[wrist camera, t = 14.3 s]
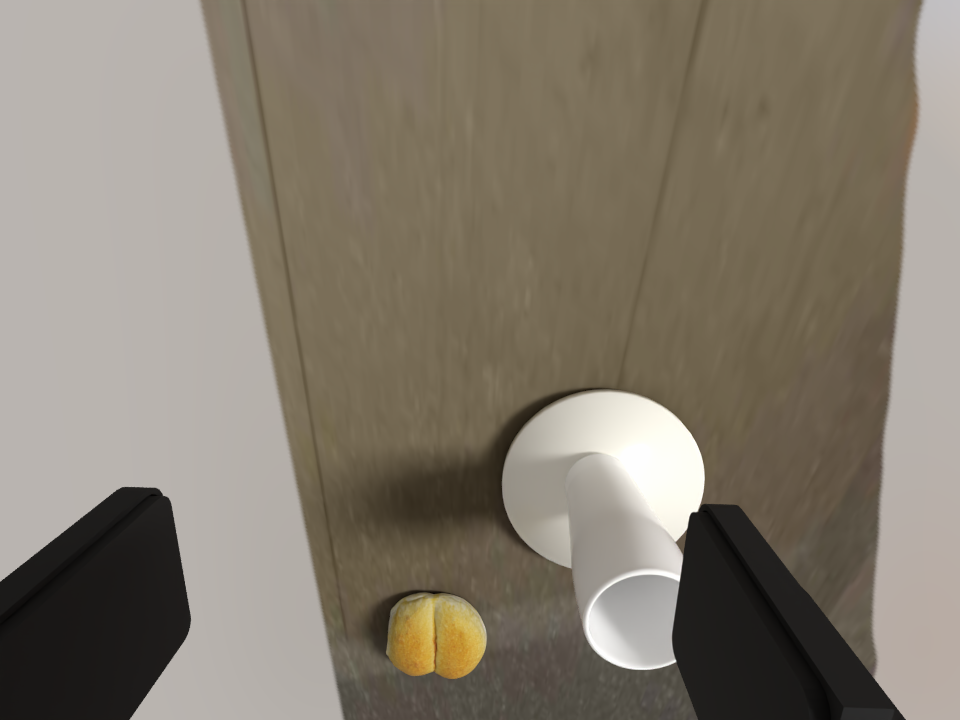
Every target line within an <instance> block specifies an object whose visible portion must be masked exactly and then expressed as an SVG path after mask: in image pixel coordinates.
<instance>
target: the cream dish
mask: <svg viewBox="0 0 960 720" xmlns="http://www.w3.org/2000/svg"><path fill="white" fill-rule="evenodd" d="M592 454H607V455H611V456H614V457H616V458H618V459H619V460H621V461H622V462H623V463H624V464H625V465H626V466H627V467H628V469H629V470H630V472H631V474H632V476H633V478H634V480H635V482H636V484H637V485H638V487H639V488H640V490H641V491H642V493H643V494H644V496H645V497H646V499H647V500H648V502H649V503H650V505H651V506H652V508H653V509H654V511H655V512H656V514H657V515H658V517H659V518H660V520H661V521H662V523H663V524H664V526H665V527H666V529H667V530H668V532H669V533H670V535H671V536H672V538H673V539H674V541H675V542H676V541H677V540H678V539H679V538H680V537H681V535H682V534H683V533H684V532H685V531H686V529H687V528H688V521H689V516H690V514H691V513H692V512H697V511H698V508H699V506H700V503H701V499H702V495H703V491H704V479H705V478H704V466H703V462H702V457H701V454H700V451H699V449H698V446H697V444H696V442H695V440H694V439H693V437H692V435H691V433H690V432H689V431H688V430H687V428H686V427H685V426H684V425H683V423H682V422H681V421H680V420H679V419H678V418H677V417H676V416H675V415H674V414H673V413H672V412H671V411H670V410H668V409H667V408H665V407H664V406H662V405H661V404H660V403H658V402H656V401H654V400H652V399H650V398H648V397H645V396H642V395H639V394H636V393H633V392H628V391H623V390H613V389H598V390H589V391H583V392H579V393H575V394H572V395H568V396H566V397H564V398H561V399H559V400H557V401H555V402H553V403H551V404H549V405H548V406H546V407H544V408H543V409H542V410H540V411H539V412H538V413H536V414H535V415H534V416H533V417H532V418H531V419H530V420H529V421H528V422H527V423H525V425H524V426H523V427H522V428H521V430H520V431H519V432H518V433H517V435H516V437H515V438H514V440H513V442H512V443H511V445H510V448H509V450H508V453H507V455H506V458H505V462H504V466H503V474H502V493H503V500H504V506H505V509H506V512H507V515H508V518H509V520H510V521H511V523H512V525H513V527H514V529H515V530H516V532H517V533H518V534H519V536H520V537H521V538H522V539H523V540H524V541H525V542H526V543H527V545H528V546H530V547H531V548H532V549H533V550H535V551H536V552H537V553H538V554H540V555H542V556H543V557H545V558H547V559H548V560H550V561H553V562H555V563H557V564H559V565H562V566H566V567H569V568H572V567H571V553H570V537H569V522H568V508H567V499H566V495H565V489H564V484H565V478H566V475H567V473H568V471H569V469H570V468H571V466H572V465H573V464H574V463H575V462H577V461H578V460H579V459H581V458H583V457H585V456H588V455H592Z"/></svg>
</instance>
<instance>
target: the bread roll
mask: <svg viewBox="0 0 960 720" xmlns="http://www.w3.org/2000/svg"><path fill="white" fill-rule="evenodd" d="M388 627H389V629H388V643H387V650H386V654H387V655H388V656H389V658H390V660H391V662H392V663H393V665H394V666H396V667H397V668H398V669H399V670H401V671H403V672H404V673H406V674H408V675H412V676H418V675H424V674H427V673H430V672H433V671H435V672H436V673H437V674H439V675H440V676H442V677H445V678H449V679H456V678H460V677H463V676H465V675H467V674H468V673H470V672H471V671H472V670H473V669H474V668H475V667H476V665H477V664H478V663H479V661H480V660H481V658H482V656H483V654H484V651H485V648H486V629H485V626H484V623H483V621H482V619H481V617H480V615H479V614H478V612H477V611H476V610H475V609H474V608H473V607H472V606H471V605H470V604H469V603H468V602H467V601H465V600H464V599H463V598H460V597H458V596H455V595H452V594H446V593H439V594H431V593H426V592H423V593H417V594H412V595H409V596H407V597H404V598H402V599H401V600H400V601H398V602H397V603H396V605H395V606H394V607H393V608H392V609H391V612H390V620H389V626H388Z"/></svg>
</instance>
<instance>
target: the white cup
mask: <svg viewBox="0 0 960 720" xmlns="http://www.w3.org/2000/svg"><path fill="white" fill-rule="evenodd" d="M564 489H565V495H566V499H567V508H568V522H569V537H570V553H571V567H572V577H573V585H574V591H575V596H576V601H577V606H578V610H579V614H580V618H581V622H582V625H583V629H584V633H585V636H586V639H587V641H588V642H589V644H590V646H591V647H592V648H593V649H594V651H595V652H596V653H597V654H598V655H600V656H601V657H602V658H604V659H605V660H607V661H608V662H610V663H612V664H615V665H617V666H620V667H623V668H628V669H635V670H649V669H656V668H661V667H664V666H667V665H670V664H672V663H675V662H676V660H675V656H674V653H673V647H672V630H673V623H674V616H675V610H676V603H677V596H678V589H679V582H680V575H681V569H682V562H683V554H682V553H681V551H680V549H679V547H678V546H677V544H676V542H675V541H674V539H673V538H672V536H671V535H670V533H669V532H668V530H667V529H666V527H665V526H664V524H663V523H662V521H661V520H660V518H659V517H658V515H657V514H656V512H655V511H654V509H653V508H652V506H651V505H650V503H649V502H648V500H647V499H646V497H645V496H644V494H643V493H642V491H641V490H640V488H639V487H638V485H637V484H636V482H635V480H634V478H633V476H632V474H631V472H630V470H629V469H628V467H627V466H626V465H625V464H624V463H623V462H622V461H621V460H619V459H618V458H616V457H614V456H611V455H607V454H592V455H588V456H585V457H583V458H581V459H579V460H578V461H577V462H575V463H574V464H573V465H572V466H571V468H570V469H569V471H568V473H567V475H566V478H565V484H564Z"/></svg>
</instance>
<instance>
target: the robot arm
mask: <svg viewBox="0 0 960 720" xmlns="http://www.w3.org/2000/svg"><path fill="white" fill-rule="evenodd" d="M190 622H191V616H190V610H189V605H188V599H187V592H186V586H185V581H184V575H183V569H182V563H181V557H180V552H179V546H178V540H177V534H176V529H175V523H174V517H173V511H172V506H171V502H170V500H169V498H168V497H165V496H163V494H162V493H161V491H160V490H159V489H157V488H143V487H122V488H120V489H118V490H116V491H115V492H114V493H113V494H111V495H110V496H109V497H108V498H106V499H105V500H104V501H102V502H101V503H100V504H99V505H97V506H96V507H95V508H94V509H92V510H91V511H90V512H88V513H87V514H86V515H85V516H83V517H82V518H81V519H80V520H78V521H77V522H76V523H74V525H72V526H71V527H69V528H68V529H67V530H66V531H64V532H63V533H62V534H61V535H59V536H58V537H57V538H55V539H54V540H53V541H52V542H50V543H49V544H48V545H46V546H45V547H44V548H43V549H41V550H40V551H39V552H38V553H36V554H35V555H34V556H33V557H31V558H30V559H29V560H27V561H26V562H25V563H24V564H22V565H21V566H20V567H19V568H17V569H16V570H15V571H13V572H12V573H11V574H10V575H8V576H7V577H6V578H5V579H3V580H2V581H1V582H0V720H129V719H130V718H131V717H132V715H133V714H134V712H135V711H136V709H137V708H138V706H139V705H140V704H141V702H142V701H143V699H144V698H145V697H146V695H147V694H148V692H149V691H150V689H151V688H152V686H153V685H154V684H155V682H156V681H157V679H158V678H159V676H160V675H161V674H162V672H163V671H164V669H165V668H166V666H167V665H168V664H169V662H170V661H171V659H172V658H173V656H174V655H175V653H176V652H177V651H178V649H179V648H180V646H181V645H182V643H183V642H184V640H185V639H186V637H187V635H188V632H189V628H190ZM672 647H673V653H674V656H675V660H676V662H677V665H678V667H679V670H680V673H681V675H682V678H683V681H684V683H685V686H686V689H687V691H688V694H689V696H690V699H691V702H692V704H693V707H694V710H695V712H696V715H697V717H698V720H906V719H905V718H904V717H903V716H902V714H901V713H900V712H899V710H898V709H897V708H896V707H895V705H894V704H893V703H892V701H891V700H890V699H889V698H888V696H887V695H886V694H885V692H884V691H883V690H882V688H881V687H880V686H879V684H878V683H877V682H876V681H875V679H874V678H873V677H872V675H871V674H870V673H869V672H868V670H867V669H866V668H865V666H864V665H863V664H862V662H861V661H860V660H859V659H858V657H857V656H856V655H855V653H854V652H853V651H852V650H851V648H850V647H849V646H848V644H847V643H846V642H845V640H844V639H843V638H842V637H841V635H840V634H839V633H838V631H837V630H836V629H835V628H834V626H833V625H832V624H831V622H830V621H829V620H828V618H827V617H826V616H825V615H824V613H823V612H822V611H821V609H820V608H819V607H818V605H817V604H816V603H815V602H814V600H813V599H812V598H811V596H810V595H809V594H808V593H807V592H806V591H805V590H804V589H803V588H802V587H801V586H800V585H799V583H798V582H797V581H796V580H795V578H794V577H793V576H792V574H791V573H790V572H789V570H788V569H787V568H786V566H785V565H784V564H783V563H782V561H781V560H780V559H779V557H778V556H777V555H776V553H775V552H774V551H773V550H772V548H771V547H770V546H769V544H768V543H767V542H766V540H765V539H764V538H763V537H762V535H761V534H760V533H759V531H758V530H757V529H756V527H755V526H754V525H753V523H752V522H751V521H750V520H749V518H748V517H747V516H746V514H745V513H744V512H743V510H742V509H741V508H740V507H739V506H738V505H723V504H703V505H702V506H701V508H700V509H699V512H692V513H691V514H690V516H689V521H688V528H687V534H686V541H685V548H684V555H683V562H682V569H681V575H680V582H679V589H678V596H677V603H676V610H675V616H674V623H673V630H672Z"/></svg>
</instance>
